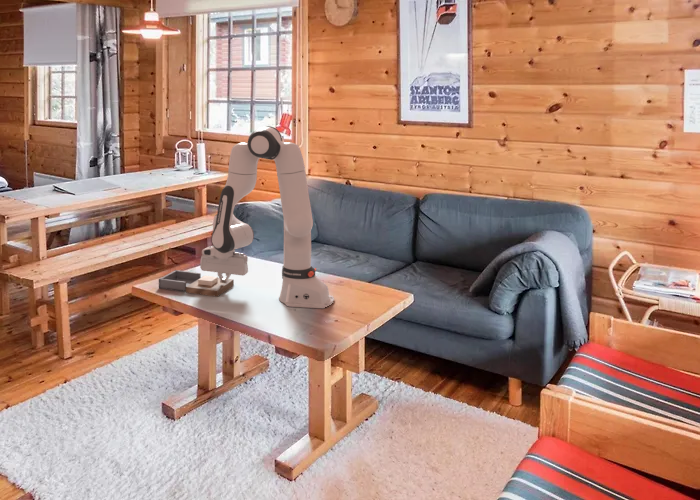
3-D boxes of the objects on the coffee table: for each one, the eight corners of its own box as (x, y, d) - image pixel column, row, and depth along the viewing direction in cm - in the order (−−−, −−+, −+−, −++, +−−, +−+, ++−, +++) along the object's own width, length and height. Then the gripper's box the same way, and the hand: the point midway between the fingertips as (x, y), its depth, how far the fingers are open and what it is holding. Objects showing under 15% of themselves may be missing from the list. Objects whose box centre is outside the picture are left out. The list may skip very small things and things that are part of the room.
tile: (217, 281, 271) (217, 277, 270) (211, 285, 265) (211, 281, 265) (204, 280, 272) (204, 275, 272) (198, 284, 267) (198, 279, 266)
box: (200, 281, 278) (200, 273, 277) (184, 291, 265) (184, 282, 263) (175, 278, 280) (175, 270, 279) (158, 288, 267) (158, 279, 266)
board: (233, 285, 275) (233, 279, 274) (217, 296, 260) (217, 290, 259) (203, 281, 278) (203, 275, 278) (185, 292, 263) (185, 286, 263)
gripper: (250, 251, 264) (250, 283, 267) (205, 246, 269) (205, 277, 272) (244, 255, 258) (244, 287, 262) (198, 250, 263) (198, 282, 266)
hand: (224, 282), depth 267 cm, fingers closed
